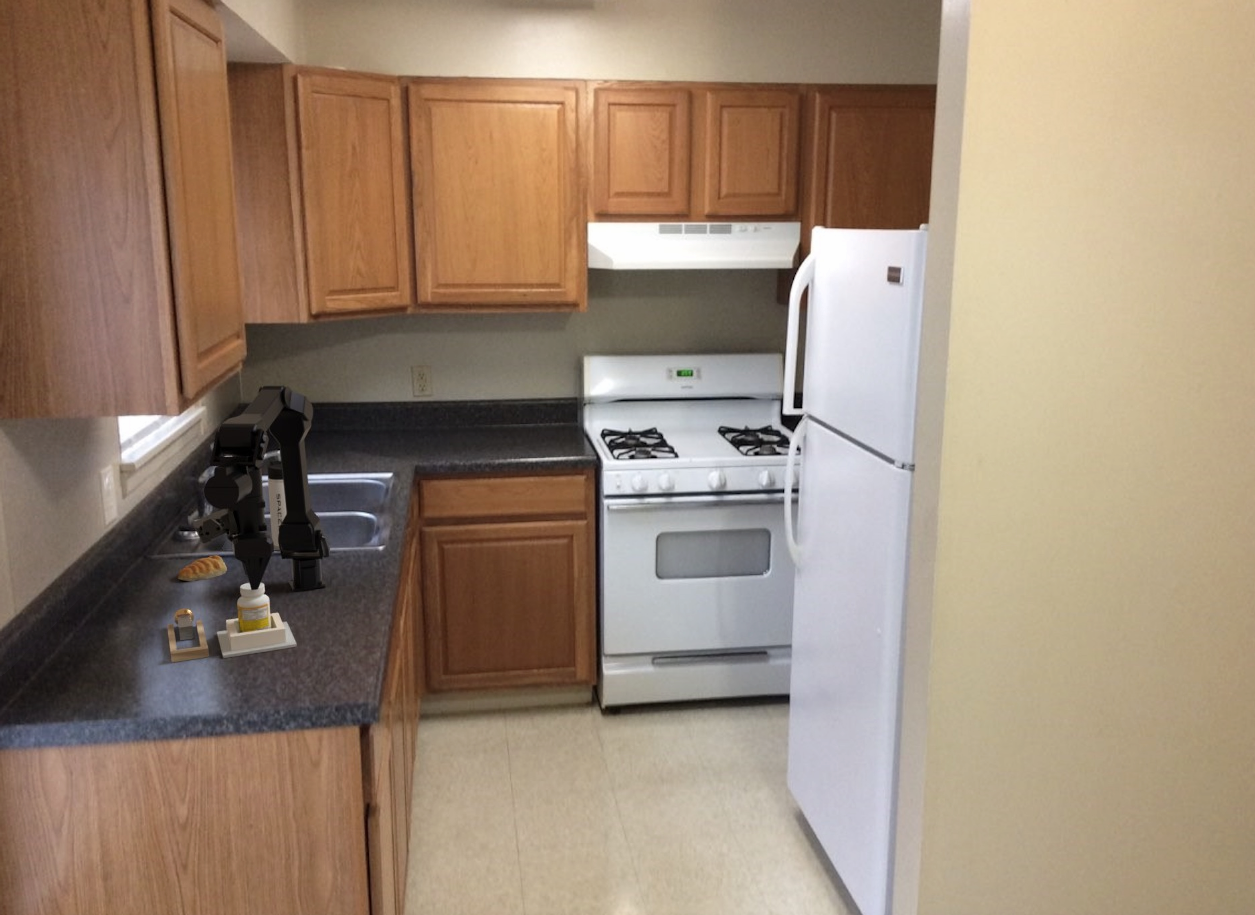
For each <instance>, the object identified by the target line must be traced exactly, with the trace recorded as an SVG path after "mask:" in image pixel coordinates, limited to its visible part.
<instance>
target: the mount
mask: <svg viewBox="0 0 1255 915" xmlns="http://www.w3.org/2000/svg"><path fill="white" fill-rule="evenodd" d="M195 625H196V626H195V627H196V631H197V636H198V642H199V646H193V647H189V648H181V649H178V648H177V642H176V640H177V639H176V634H175V627H174V624H173V623H172V624H167V626H166V627H167V636H168V642H169V643H168V644H169V650H170V659H171V663H177V662H183V661H190V660H196V659H197V660H198V659H204V658H209V657H210V652H209V651H210V650H209V645H208V643H207V637H206V634H205V628H204V625H203V619H200V620H199V619H198V620H195Z"/></svg>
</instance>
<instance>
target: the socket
mask: <svg viewBox="0 0 1255 915" xmlns="http://www.w3.org/2000/svg"><path fill="white" fill-rule="evenodd" d="M270 617H271V629H264V630H257V631H251V632H244V633H239V621H238V617H236V618H232V619H231V618H230V619H226V620H225V624H226V625H225V628H226V630H225V629H224V630H220V631H216V635H217V640H218V644H219V648H220V652H221V655H222V658H223V659H227V658H234V657H239V656H247V655H252V654H257V653H260V654H261V653H264V652H273V651H277V650H284V649H289V648H296V647H297V646H298V645H297V641H296V640H295V637H294V634H293V632H292V630H291V628H290V625H289V624H288V621H282V619H281V616H280V613H279V612H273V613H271V612H270Z"/></svg>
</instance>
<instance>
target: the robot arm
mask: <svg viewBox="0 0 1255 915" xmlns="http://www.w3.org/2000/svg"><path fill="white" fill-rule="evenodd" d="M257 392H258V394H257V395H256V396H255V397H254V398H253V400H252V401H251V403H249V405H248V406H247V407H246V408H245V410H244V411H243V412H242V413H241V414H240V415H238V416H234V417H231V418H227V419H226V420H225V421H224V422H222V423H221V424H220V425H219V427H218V429H217V430H216V432H215V435H214V440H213V445H212V446H213V447H212V450H211V451H212V452H211V456H210V461H209V466H210V467H214V475H213V476H211V477H210V478H208V480H207V481H206V482H205V483H204V484H205V485H204V488H203V494H204V495H203V496H204V498H205V500H206V501H207V503H208V504H209V505H211V506H212V507H213V508H215V509H218V511H217V510H216V511H214V512H212V513H210V514H207V515H206V516H204V517H201V518H199V519H196V520H195V521H193V523H192V524H193V527H194V529H195V532H196V533H197V535H198V537H199V539H200V541H201V543H202V544H207V543H209V542H211V541H212V540H214V539H216V538H218V537H221V536H223V535H226V538H227V539H228V540H229V541H230V542H231V544H232V552H233V556H234V558H235V559H236V560H238V561H239V562H240V563H241V564H242V567H243V570H244V575H246V576H247V580H248V583H250V587H251V590H257V589H258V588H259V586H260V583H262V580H263V578H264V575H265V572H266V570H267V567H268V565H269V562H270V561H271V558H272V556H273V555H274V553H275V550H274V542H273V540H272V536H271V535H270V534H268V533H266V532H267V531H268V526H267V523H266V518H265V515H266V514H265V508H266V501H265V499H264V488H263V487H264V486H263V472H262V464H263V463H264V459H265V456H266V452H267V448H268V445H269V441H270V440H269V436H268V433H267V431H269V433H270V434H271V435H272V436H273V438H274V439H275V440H276V442H277V443H278V444H279V453H280V454H279V455H280V461H281V464H282V474H283V483H284V493H285V503H286V516H285V518H284V520H283V521H282V523H281V525H280V527H279V535H278V544H279V548H280V551H279V552H280V557H281V560H285V559H286V560H291V574H292V575H291V576H292V579H289V580H288V583H289V585H290V587H291V589H292V591H293V592H298V591H305V590H312V589H314V590H315V589H320V588H322V589H323V588H326V587H327V584H326V581H325V580H324V579H323V575H322V561H321V560H324V559H325V558H329V557H330V556H331V552H330V551H331V547H330V545H331V543H330V541H329V539H328V537H327V535H326V534H325V531H324V530H323V529H322V523H321V518H320V517H319V515H317V513H315V511H314V510H313V509H312V507H311V496H310V487H309V478H308V477H309V476H308V466H307V456H306V455H307V454H306V446H305V444H306V443H305V438H306V436H307V434H308V432H309V431H310V429H311V427H312V420H313V418H314V408H313V405H312V403H311V401H310V400H309V399H308V397H307V396H305V395H303V394H301V393H299V392H297V391H294V390H292V389H291V388H290V386H288V385H287V386H286V385H285V384H265V385H262V386H261V385H260V387H259V388H258V391H257Z"/></svg>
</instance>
